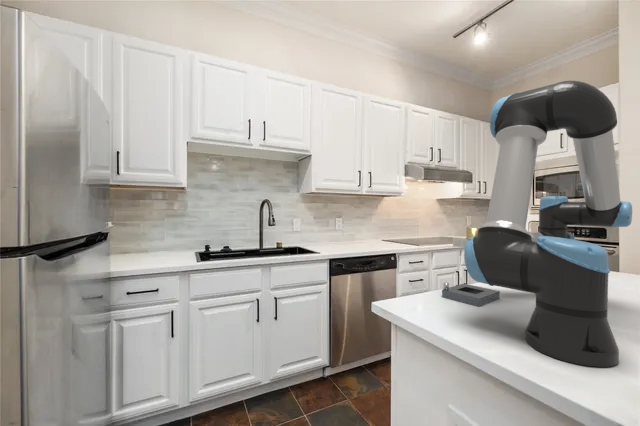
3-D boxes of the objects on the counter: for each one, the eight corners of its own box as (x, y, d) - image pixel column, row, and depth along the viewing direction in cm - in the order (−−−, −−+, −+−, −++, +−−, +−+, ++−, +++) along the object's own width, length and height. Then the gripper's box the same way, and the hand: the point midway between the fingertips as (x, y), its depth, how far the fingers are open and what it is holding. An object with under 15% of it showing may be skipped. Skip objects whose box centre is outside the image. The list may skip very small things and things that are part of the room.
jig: (479, 306, 90) (479, 291, 90) (441, 296, 100) (441, 283, 100) (499, 298, 98) (499, 285, 98) (462, 290, 108) (462, 277, 108)
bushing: (476, 266, 95) (477, 228, 95) (463, 264, 99) (463, 228, 99) (483, 264, 98) (483, 228, 98) (469, 262, 102) (470, 227, 101)
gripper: (546, 258, 91) (472, 259, 89) (506, 250, 109) (444, 250, 107) (546, 234, 91) (473, 234, 89) (506, 229, 108) (444, 229, 107)
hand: (457, 243), depth 98 cm, fingers closed on bushing, 4 cm apart
